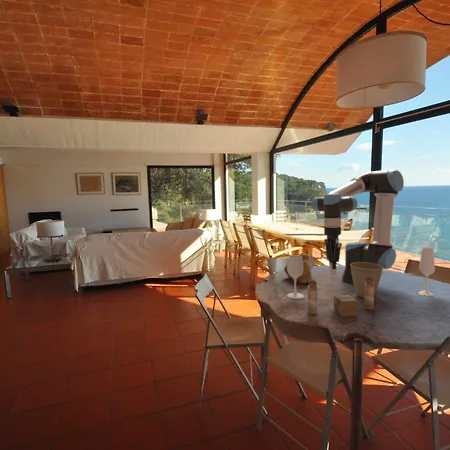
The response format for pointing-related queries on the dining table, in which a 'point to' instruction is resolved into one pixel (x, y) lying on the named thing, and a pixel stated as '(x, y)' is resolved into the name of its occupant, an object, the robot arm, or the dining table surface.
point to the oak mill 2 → (369, 293)
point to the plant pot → (365, 275)
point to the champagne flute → (427, 266)
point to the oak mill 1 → (312, 297)
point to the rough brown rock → (306, 273)
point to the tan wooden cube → (345, 305)
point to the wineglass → (295, 273)
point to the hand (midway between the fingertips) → (332, 275)
